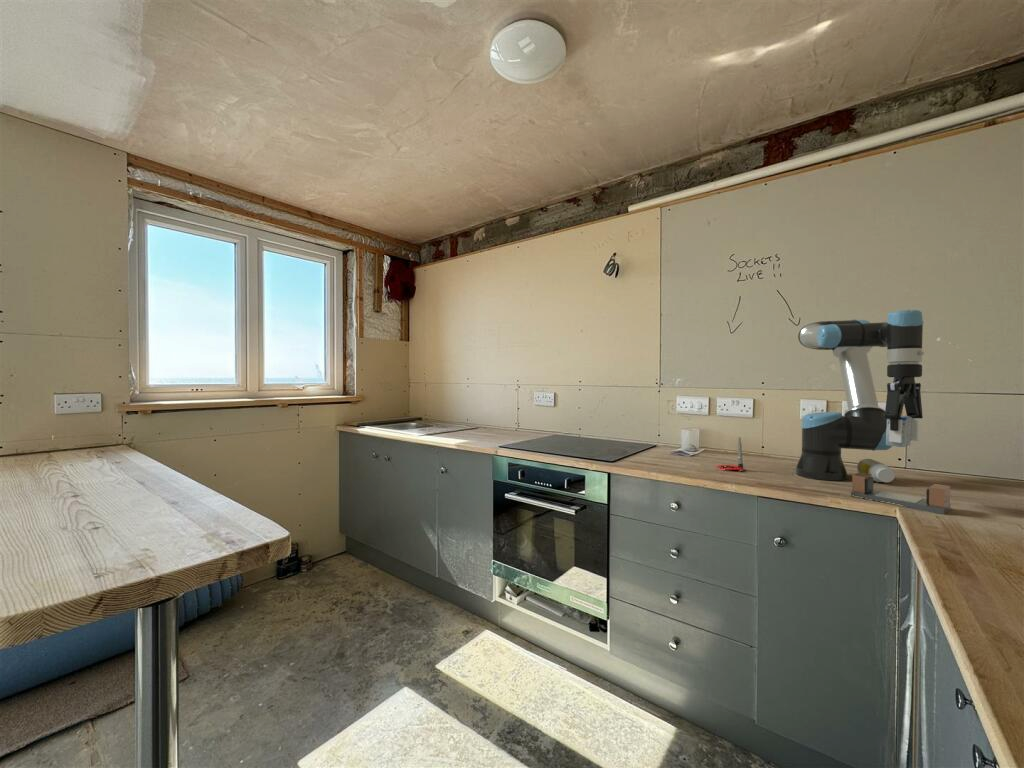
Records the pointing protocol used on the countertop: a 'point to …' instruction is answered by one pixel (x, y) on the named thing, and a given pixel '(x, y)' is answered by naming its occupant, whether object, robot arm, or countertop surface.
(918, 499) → the rail
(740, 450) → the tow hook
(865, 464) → the supplement bottle
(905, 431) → the medicine box
